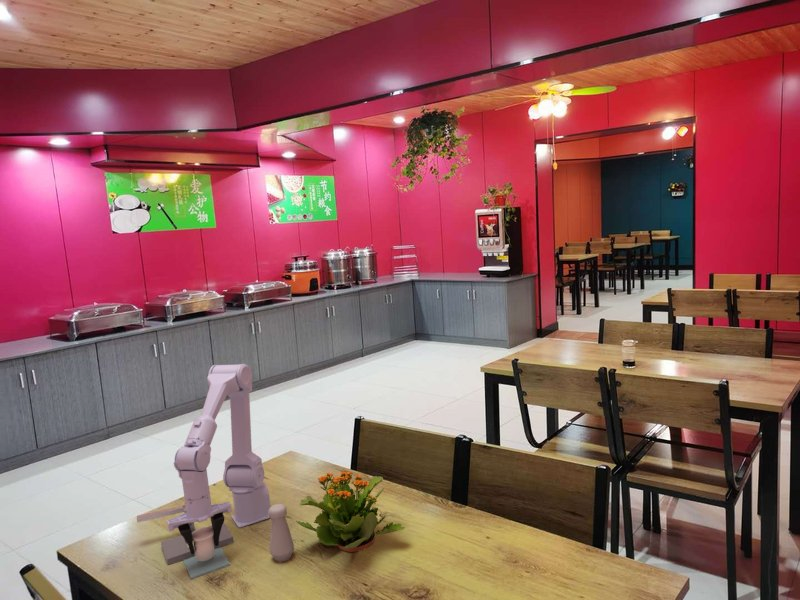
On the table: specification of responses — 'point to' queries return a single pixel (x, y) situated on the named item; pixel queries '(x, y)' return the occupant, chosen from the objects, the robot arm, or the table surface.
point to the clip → (161, 513)
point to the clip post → (191, 526)
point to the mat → (206, 564)
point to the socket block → (179, 551)
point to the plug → (203, 543)
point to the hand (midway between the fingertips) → (204, 548)
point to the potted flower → (347, 513)
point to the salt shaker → (280, 534)
